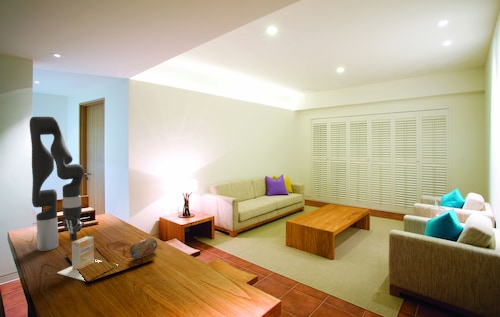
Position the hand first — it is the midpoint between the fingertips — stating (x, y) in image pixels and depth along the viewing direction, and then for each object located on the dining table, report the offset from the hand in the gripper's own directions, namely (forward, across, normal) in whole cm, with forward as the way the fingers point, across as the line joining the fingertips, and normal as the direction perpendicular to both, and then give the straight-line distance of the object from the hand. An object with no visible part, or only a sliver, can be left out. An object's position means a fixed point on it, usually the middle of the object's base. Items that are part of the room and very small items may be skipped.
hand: (73, 240), depth 126 cm
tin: (+12, +24, +20) cm, 34 cm away
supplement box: (+12, +6, 0) cm, 14 cm away
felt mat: (+12, +11, -1) cm, 17 cm away
